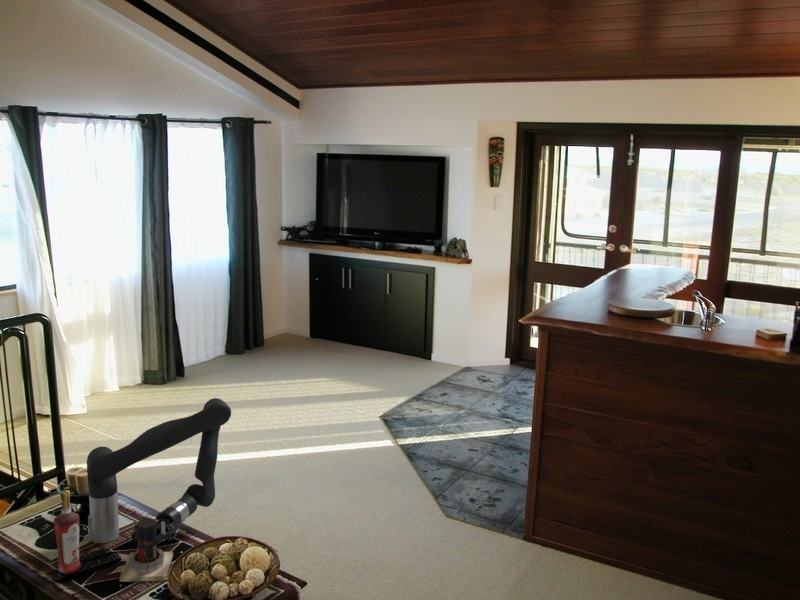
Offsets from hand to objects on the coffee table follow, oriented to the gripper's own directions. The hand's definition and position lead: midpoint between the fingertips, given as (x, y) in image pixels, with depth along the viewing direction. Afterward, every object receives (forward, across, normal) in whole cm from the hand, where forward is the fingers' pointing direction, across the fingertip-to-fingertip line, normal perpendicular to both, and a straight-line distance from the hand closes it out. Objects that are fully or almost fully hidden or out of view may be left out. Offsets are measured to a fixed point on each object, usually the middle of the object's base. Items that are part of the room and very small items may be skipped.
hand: (142, 540), depth 227 cm
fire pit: (-2, 0, +12) cm, 12 cm away
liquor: (+8, -22, +12) cm, 27 cm away
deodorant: (-2, 0, +10) cm, 10 cm away
